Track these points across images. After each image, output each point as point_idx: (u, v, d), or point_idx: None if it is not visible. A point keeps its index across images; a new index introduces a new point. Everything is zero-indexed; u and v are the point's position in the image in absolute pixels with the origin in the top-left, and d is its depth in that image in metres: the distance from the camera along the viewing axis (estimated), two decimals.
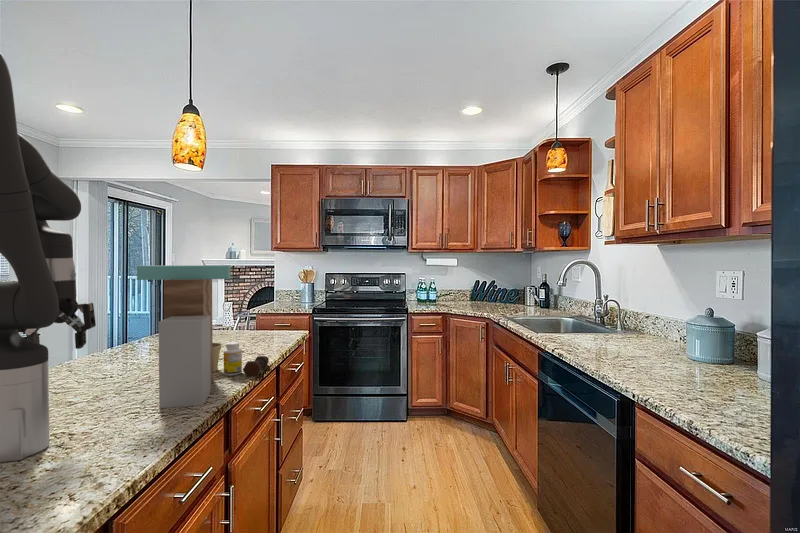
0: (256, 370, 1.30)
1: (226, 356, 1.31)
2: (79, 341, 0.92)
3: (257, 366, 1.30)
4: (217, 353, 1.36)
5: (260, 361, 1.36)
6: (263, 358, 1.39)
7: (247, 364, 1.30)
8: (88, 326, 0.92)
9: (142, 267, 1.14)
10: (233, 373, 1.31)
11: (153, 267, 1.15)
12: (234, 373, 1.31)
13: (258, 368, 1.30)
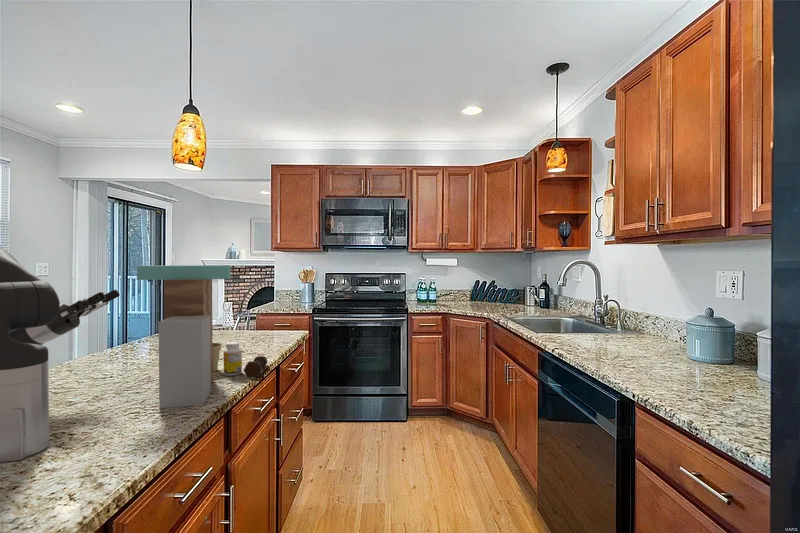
0: (257, 370, 1.29)
1: (226, 356, 1.31)
2: None
3: (258, 366, 1.30)
4: (217, 353, 1.36)
5: (260, 361, 1.36)
6: (262, 358, 1.39)
7: (248, 364, 1.29)
8: None
9: (142, 267, 1.14)
10: (233, 373, 1.31)
11: (153, 267, 1.15)
12: (234, 373, 1.31)
13: (259, 368, 1.30)
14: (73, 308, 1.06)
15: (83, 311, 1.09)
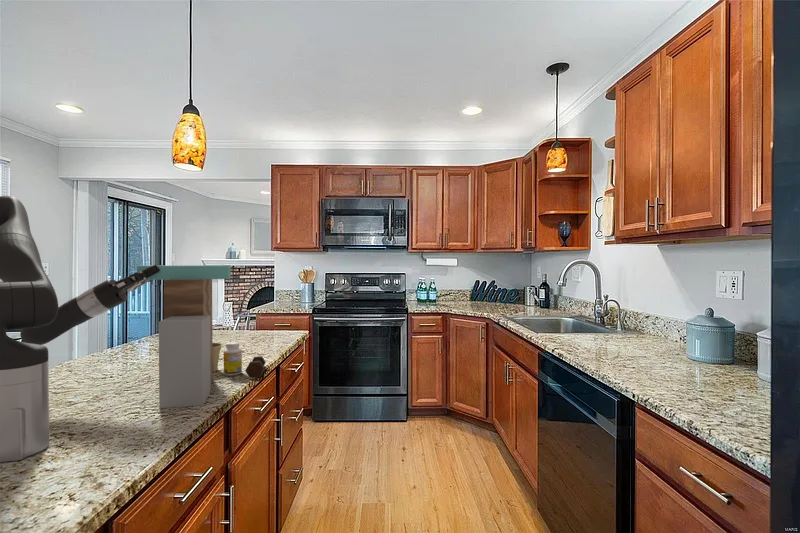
0: (259, 370, 1.29)
1: (226, 356, 1.31)
2: None
3: (260, 366, 1.29)
4: (217, 353, 1.36)
5: (259, 361, 1.36)
6: (261, 358, 1.39)
7: (250, 364, 1.29)
8: None
9: (142, 267, 1.14)
10: (233, 373, 1.31)
11: None
12: (234, 373, 1.31)
13: (261, 368, 1.29)
14: (130, 279, 1.10)
15: (136, 284, 1.13)
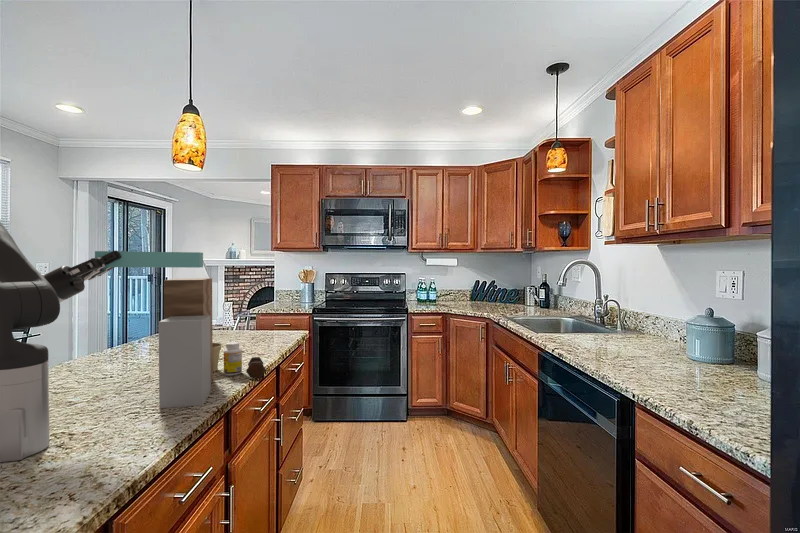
0: (260, 370, 1.29)
1: (226, 356, 1.31)
2: None
3: (261, 366, 1.29)
4: (217, 353, 1.36)
5: (258, 362, 1.35)
6: (259, 359, 1.38)
7: (251, 365, 1.28)
8: None
9: (101, 253, 1.01)
10: (233, 373, 1.31)
11: None
12: (234, 373, 1.31)
13: (263, 368, 1.29)
14: (85, 266, 0.97)
15: (94, 271, 1.00)
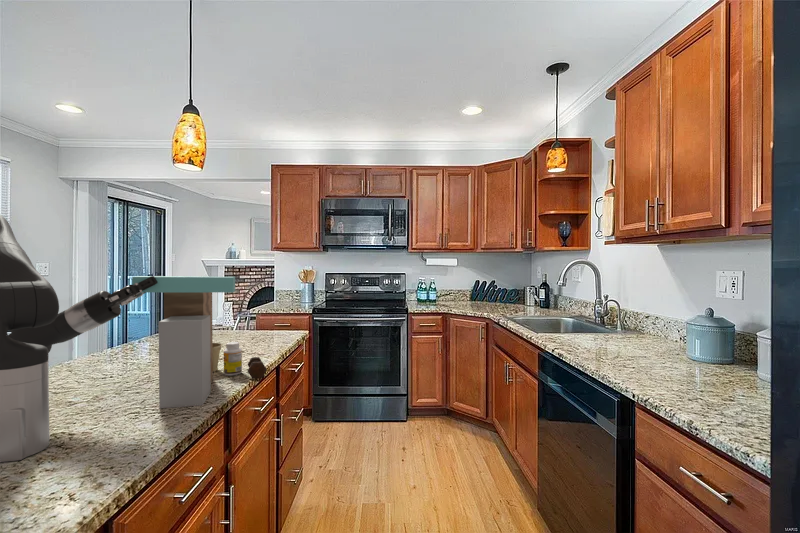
0: (262, 370, 1.29)
1: (226, 356, 1.31)
2: None
3: (263, 366, 1.29)
4: (217, 353, 1.36)
5: (258, 362, 1.35)
6: (258, 359, 1.38)
7: (252, 365, 1.28)
8: None
9: (138, 278, 1.03)
10: (233, 373, 1.31)
11: None
12: (234, 373, 1.31)
13: (264, 368, 1.29)
14: (124, 292, 1.00)
15: (131, 297, 1.02)
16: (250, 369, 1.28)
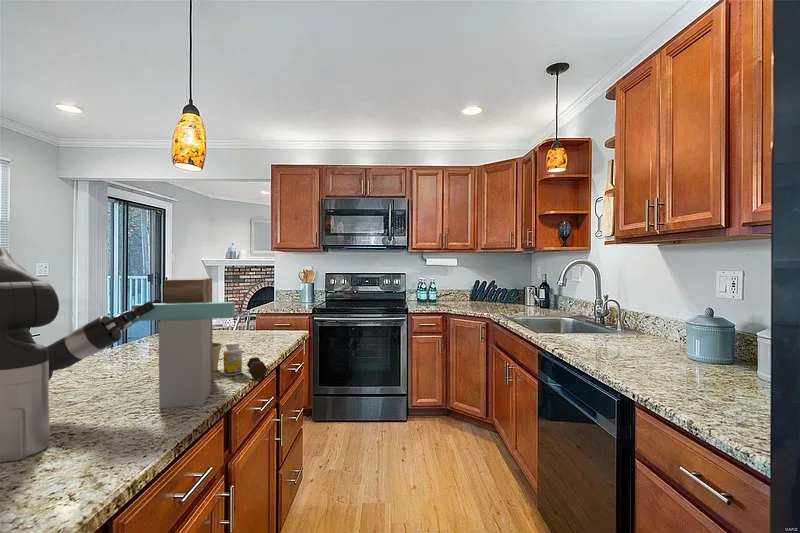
0: (263, 370, 1.29)
1: (226, 356, 1.31)
2: None
3: (264, 366, 1.29)
4: (217, 353, 1.36)
5: (258, 362, 1.35)
6: (258, 359, 1.37)
7: (253, 365, 1.28)
8: None
9: None
10: (233, 373, 1.31)
11: None
12: (234, 373, 1.31)
13: (265, 368, 1.29)
14: (121, 319, 0.99)
15: (129, 322, 1.02)
16: (251, 369, 1.27)
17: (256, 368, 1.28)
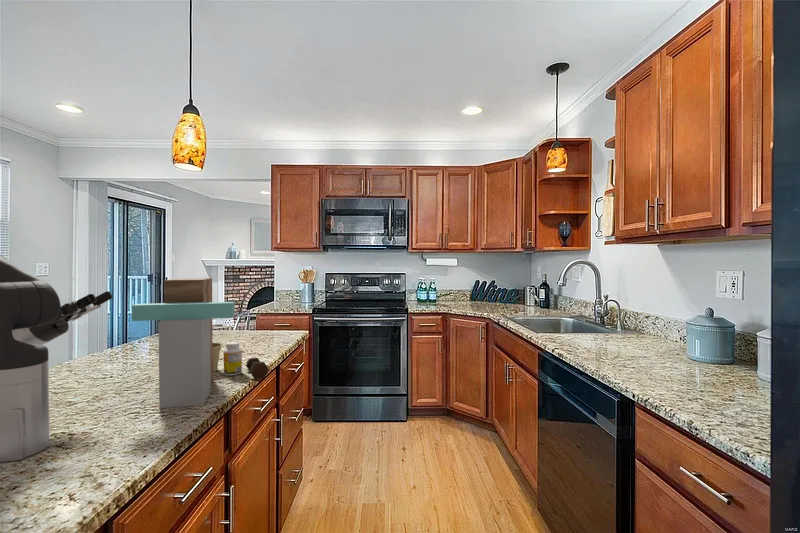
0: (264, 371, 1.29)
1: (226, 356, 1.31)
2: None
3: (265, 366, 1.29)
4: (217, 353, 1.36)
5: None
6: (257, 359, 1.37)
7: (255, 366, 1.28)
8: None
9: (138, 307, 1.03)
10: (233, 373, 1.31)
11: (150, 307, 1.04)
12: (234, 373, 1.31)
13: (266, 368, 1.29)
14: (60, 312, 0.95)
15: (71, 315, 0.98)
16: (253, 369, 1.27)
17: (257, 368, 1.28)
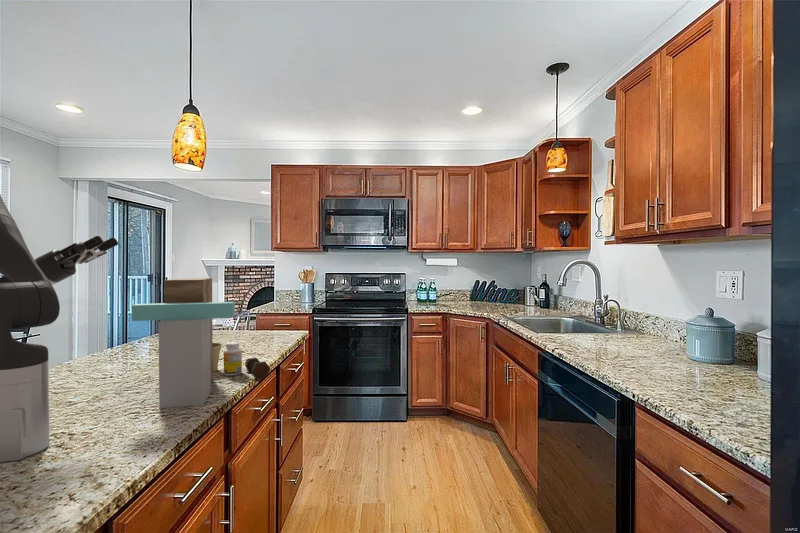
0: (265, 370, 1.29)
1: (226, 356, 1.31)
2: None
3: (267, 366, 1.29)
4: (217, 353, 1.36)
5: None
6: (256, 360, 1.37)
7: (257, 365, 1.28)
8: None
9: (138, 307, 1.03)
10: (233, 373, 1.31)
11: (150, 307, 1.04)
12: (234, 373, 1.31)
13: (268, 368, 1.30)
14: (68, 251, 0.99)
15: (79, 256, 1.02)
16: (254, 369, 1.27)
17: (259, 368, 1.28)
